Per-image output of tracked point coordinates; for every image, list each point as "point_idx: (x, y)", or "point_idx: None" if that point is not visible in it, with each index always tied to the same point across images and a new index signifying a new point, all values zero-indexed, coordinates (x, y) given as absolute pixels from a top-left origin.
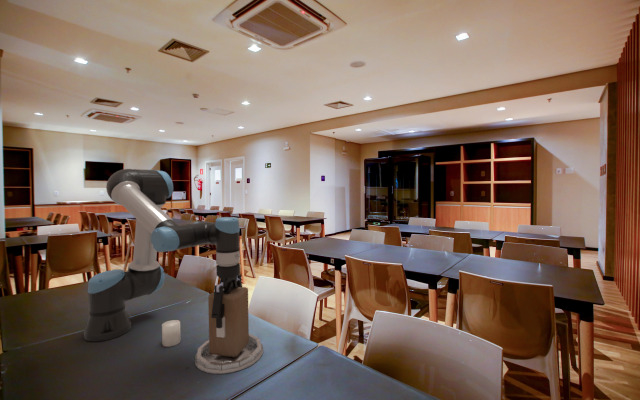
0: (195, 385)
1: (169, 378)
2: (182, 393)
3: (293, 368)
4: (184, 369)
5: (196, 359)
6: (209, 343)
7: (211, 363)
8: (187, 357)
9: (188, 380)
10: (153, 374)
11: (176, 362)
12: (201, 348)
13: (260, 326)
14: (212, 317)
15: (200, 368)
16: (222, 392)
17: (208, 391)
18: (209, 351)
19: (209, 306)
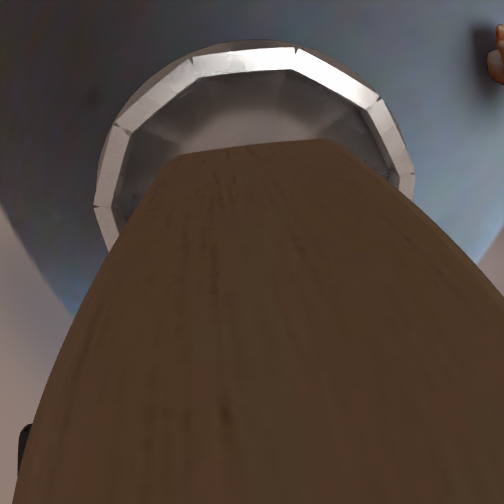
0: (42, 220)
1: (22, 100)
2: (7, 212)
3: None
4: (78, 98)
5: (138, 99)
6: (154, 181)
7: (107, 232)
8: (160, 24)
9: (43, 176)
10: (21, 23)
11: (108, 16)
12: (195, 77)
13: (490, 210)
14: (28, 433)
15: (98, 170)
16: (72, 308)
17: (51, 274)
18: (165, 164)
19: (32, 463)
